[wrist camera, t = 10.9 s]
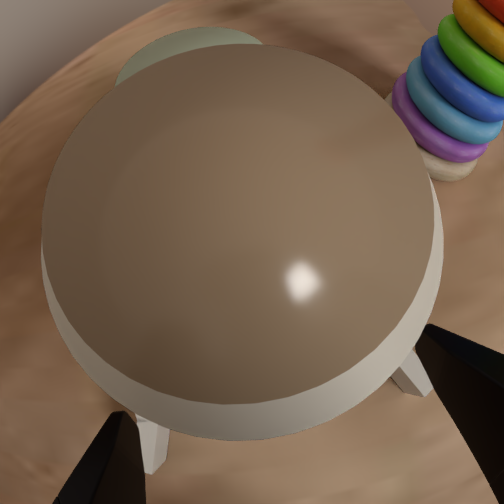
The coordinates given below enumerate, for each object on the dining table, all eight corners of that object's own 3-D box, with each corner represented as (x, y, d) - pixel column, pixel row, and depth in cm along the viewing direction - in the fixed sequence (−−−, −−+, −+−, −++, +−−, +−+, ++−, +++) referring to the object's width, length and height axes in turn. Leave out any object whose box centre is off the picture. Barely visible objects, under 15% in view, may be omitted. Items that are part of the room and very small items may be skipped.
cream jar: (294, 384, 16) (421, 496, 2) (182, 353, 16) (-36, 335, 3) (322, 274, 17) (456, 79, 4) (215, 246, 18) (128, 20, 5)
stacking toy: (406, 195, 19) (574, -67, 1) (359, 100, 21) (424, -137, 3) (486, 179, 19) (632, 5, 1) (439, 97, 21) (524, -82, 3)
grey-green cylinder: (276, 223, 18) (287, 115, 10) (170, 237, 18) (104, 145, 9) (261, 137, 20) (260, 20, 11) (168, 150, 20) (124, 43, 11)
